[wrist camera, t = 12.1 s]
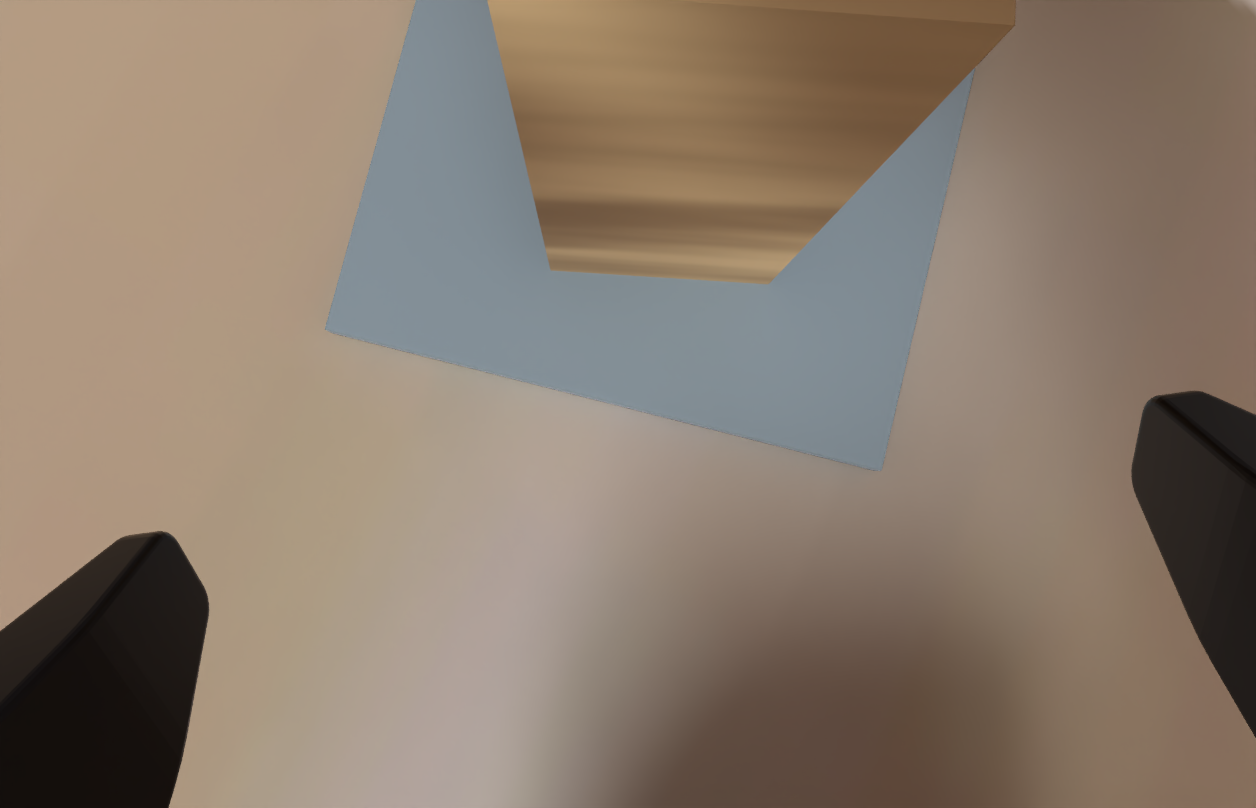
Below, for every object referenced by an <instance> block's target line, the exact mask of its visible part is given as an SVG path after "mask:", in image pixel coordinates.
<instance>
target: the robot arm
mask: <svg viewBox="0 0 1256 808" xmlns="http://www.w3.org/2000/svg"><path fill="white" fill-rule="evenodd" d="M1131 471H1132V484H1133V488H1134V492H1135V494H1136V497H1137V499H1138V502H1139V504H1140V506H1141V508H1142V511H1143V513H1144V515H1145V518H1146V520H1147V522H1148V525H1149V527H1150V529H1151V531H1152V534H1153V536H1154V538H1155V541H1156V543H1157V545H1158V548H1159V550H1160V552H1161V555H1162V557H1163V559H1164V561H1165V564H1166V566H1167V568H1168V571H1169V573H1170V575H1171V578H1172V580H1173V582H1174V585H1175V587H1176V589H1177V591H1178V594H1179V596H1180V598H1181V601H1182V603H1183V605H1184V608H1185V610H1186V612H1187V614H1188V617H1189V619H1190V621H1191V623H1192V625H1193V627H1194V629H1195V631H1196V634H1197V636H1198V638H1199V640H1200V642H1201V644H1202V645H1203V647H1204V649H1205V651H1206V653H1207V654H1208V656H1209V658H1210V660H1211V662H1212V664H1213V665H1214V667H1215V669H1216V671H1217V672H1218V674H1219V676H1220V677H1221V679H1222V681H1223V683H1224V684H1225V686H1226V688H1227V689H1228V691H1229V693H1230V695H1231V696H1232V698H1233V700H1234V702H1235V703H1236V705H1237V707H1238V708H1239V710H1240V712H1241V714H1242V715H1243V717H1244V719H1245V720H1246V722H1247V724H1248V726H1249V727H1250V729H1251V731H1252V732H1253V734H1254V736H1255V738H1256V415H1255V414H1252V413H1250V412H1248V411H1246V410H1243V409H1241V408H1239V407H1237V406H1234V405H1232V404H1230V403H1227V402H1225V401H1223V400H1221V399H1218V398H1216V397H1214V396H1212V395H1209V394H1207V393H1204V392H1201V391H1187V392H1179V393H1172V394H1165V395H1158V396H1155V397H1153V398H1151V399H1150V400H1149V401H1148V402H1147V403H1146V405H1145V407H1144V410H1143V413H1142V418H1141V423H1140V428H1139V433H1138V438H1137V443H1136V448H1135V453H1134V458H1133V463H1132V470H1131ZM208 616H209V602H208V596H207V593H206V590H205V588H204V586H203V584H202V582H201V581H200V579H199V577H198V576H197V574H196V572H195V570H194V569H193V567H192V565H191V564H190V562H189V560H188V559H187V557H186V555H185V553H184V552H183V550H182V548H181V547H180V545H179V543H178V542H177V540H176V539H175V538H174V537H173V536H172V535H171V534H169V533H167V532H163V531H157V532H149V533H142V534H134V535H129V536H125V537H122V538H120V539H118V540H117V541H116V542H114V543H113V544H112V545H110V546H109V547H108V548H107V549H105V550H104V551H103V552H101V553H100V554H99V555H98V556H96V557H95V558H94V559H92V560H91V561H90V562H89V563H87V564H86V565H85V566H83V567H82V568H81V569H80V570H78V571H77V572H76V573H74V574H73V575H72V576H71V577H69V578H68V579H67V580H65V581H64V582H63V583H62V584H60V585H59V586H58V587H56V588H55V589H54V590H53V591H51V592H50V593H49V594H47V595H46V596H45V597H44V598H42V599H41V600H40V601H38V602H37V603H36V604H35V605H33V606H32V607H31V608H29V609H28V610H27V611H26V612H24V613H23V614H22V615H20V616H19V617H18V618H17V619H15V620H14V621H13V622H11V623H10V624H9V625H8V626H6V627H5V628H4V629H2V630H1V631H0V808H169V804H170V801H171V798H172V794H173V791H174V787H175V784H176V780H177V776H178V772H179V769H180V765H181V761H182V757H183V752H184V748H185V743H186V738H187V733H188V727H189V722H190V716H191V711H192V705H193V700H194V694H195V689H196V683H197V678H198V672H199V666H200V661H201V655H202V650H203V644H204V639H205V633H206V628H207V622H208Z"/></svg>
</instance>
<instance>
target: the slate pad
mask: <svg viewBox="0 0 1256 808" xmlns="http://www.w3.org/2000/svg"><path fill="white" fill-rule="evenodd" d="M974 71H975V68H974V69H973V70H972V71H971V72H970V73H969V74H968V75H967V76H966V77H965V78H964V79H963V80H962V81H961V83H960V84H959V85H958V86H957V87H956V88H955V89H954V90H953V91H952V92H951V93H950V94H949V95H948V96H947V97H946V98H945V99H944V100H943V101H942V103H941V104H940V105H939V106H938V107H937V108H936V109H935V110H934V111H933V112H932V113H931V114H930V115H929V116H928V117H927V118H926V119H925V120H924V121H923V122H922V124H921V125H920V126H919V127H918V128H917V129H916V130H915V131H914V132H913V133H912V134H911V135H910V136H909V137H908V138H907V139H906V140H905V141H904V142H903V143H902V145H901V146H900V147H899V148H898V149H897V150H896V151H895V152H894V153H893V154H892V155H891V156H890V157H889V158H888V159H887V160H886V161H885V162H884V163H883V165H882V166H881V167H880V168H879V169H878V170H877V171H876V172H875V173H874V174H873V175H872V176H871V177H870V178H869V179H868V180H867V181H866V182H865V183H864V184H863V186H862V187H861V188H860V189H859V190H858V191H857V192H856V193H855V194H854V195H853V196H852V197H851V198H850V199H849V200H848V201H847V202H846V203H845V204H844V206H843V207H842V208H841V209H840V210H839V211H838V212H837V213H836V214H835V215H834V216H833V217H832V218H831V219H830V220H829V221H828V222H827V223H826V224H825V225H824V227H823V228H822V229H821V230H820V231H819V232H818V233H817V234H816V235H815V236H814V237H813V238H812V239H811V240H810V241H809V242H808V243H807V244H806V245H805V247H804V248H803V249H802V250H801V251H800V252H799V253H798V254H797V255H796V256H795V257H794V258H793V259H792V260H791V261H790V262H789V263H788V264H787V265H786V266H785V268H784V269H783V270H782V271H781V272H780V273H779V274H778V275H777V276H776V277H775V278H774V279H773V280H772V281H771V282H770V283H769V284H755V283H739V282H723V281H708V280H692V279H676V278H660V277H645V276H629V275H613V274H598V273H582V272H566V271H551V270H550V266H549V262H548V257H547V253H546V249H545V245H544V240H543V236H542V232H541V228H540V223H539V219H538V215H537V211H536V206H535V202H534V198H533V194H532V189H531V185H530V181H529V177H528V172H527V168H526V164H525V159H524V155H523V151H522V147H521V142H520V138H519V134H518V130H517V125H516V121H515V117H514V113H513V108H512V104H511V100H510V96H509V91H508V87H507V83H506V79H505V74H504V70H503V66H502V62H501V57H500V53H499V49H498V44H497V40H496V36H495V32H494V27H493V23H492V19H491V15H490V10H489V6H488V2H487V0H416V2H415V6H414V9H413V13H412V17H411V20H410V24H409V27H408V31H407V35H406V38H405V42H404V45H403V49H402V53H401V56H400V60H399V63H398V67H397V71H396V74H395V78H394V81H393V85H392V89H391V92H390V96H389V100H388V103H387V107H386V110H385V114H384V118H383V121H382V125H381V128H380V132H379V136H378V139H377V143H376V146H375V150H374V154H373V157H372V161H371V164H370V168H369V172H368V175H367V179H366V182H365V186H364V190H363V193H362V197H361V201H360V204H359V208H358V211H357V215H356V219H355V222H354V226H353V229H352V233H351V237H350V240H349V244H348V247H347V251H346V255H345V258H344V262H343V265H342V269H341V273H340V276H339V280H338V283H337V287H336V291H335V294H334V298H333V302H332V305H331V309H330V312H329V316H328V320H327V323H326V327H325V330H327V331H329V332H331V333H334V334H338V335H342V336H346V337H350V338H354V339H358V340H362V341H366V342H369V343H373V344H377V345H381V346H385V347H389V348H393V349H397V350H401V351H405V352H409V353H413V354H417V355H421V356H425V357H429V358H432V359H436V360H440V361H444V362H448V363H452V364H456V365H460V366H464V367H468V368H472V369H476V370H480V371H484V372H488V373H492V374H495V375H499V376H503V377H507V378H511V379H515V380H519V381H523V382H527V383H531V384H535V385H539V386H543V387H547V388H551V389H554V390H558V391H562V392H566V393H570V394H574V395H578V396H582V397H586V398H590V399H594V400H598V401H602V402H606V403H610V404H614V405H617V406H621V407H625V408H629V409H633V410H637V411H641V412H645V413H649V414H653V415H657V416H661V417H665V418H669V419H673V420H677V421H680V422H684V423H688V424H692V425H696V426H700V427H704V428H708V429H712V430H716V431H720V432H724V433H728V434H732V435H736V436H740V437H743V438H747V439H751V440H755V441H759V442H763V443H767V444H771V445H775V446H779V447H783V448H787V449H791V450H795V451H799V452H803V453H806V454H810V455H814V456H818V457H822V458H826V459H830V460H834V461H838V462H842V463H846V464H850V465H854V466H858V467H862V468H866V469H869V470H873V471H881V470H882V466H883V462H884V458H885V453H886V449H887V445H888V440H889V436H890V432H891V427H892V423H893V419H894V415H895V410H896V406H897V402H898V397H899V393H900V389H901V384H902V380H903V376H904V372H905V367H906V363H907V359H908V354H909V350H910V346H911V341H912V337H913V333H914V329H915V324H916V320H917V316H918V311H919V307H920V303H921V298H922V294H923V290H924V286H925V281H926V277H927V273H928V268H929V264H930V260H931V255H932V251H933V247H934V243H935V238H936V234H937V230H938V225H939V221H940V217H941V212H942V208H943V204H944V200H945V195H946V191H947V187H948V182H949V178H950V174H951V170H952V165H953V161H954V157H955V152H956V148H957V144H958V139H959V135H960V131H961V127H962V122H963V118H964V114H965V109H966V105H967V101H968V96H969V92H970V88H971V84H972V79H973V75H974Z"/></svg>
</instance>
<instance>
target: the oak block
mask: <svg viewBox="0 0 1256 808" xmlns="http://www.w3.org/2000/svg"><path fill="white" fill-rule="evenodd" d="M487 2H488V6H489V10H490V15H491V19H492V23H493V27H494V32H495V36H496V40H497V44H498V49H499V53H500V57H501V62H502V66H503V70H504V74H505V79H506V83H507V87H508V91H509V96H510V100H511V104H512V108H513V113H514V117H515V121H516V125H517V130H518V134H519V138H520V142H521V147H522V151H523V155H524V159H525V164H526V168H527V172H528V177H529V181H530V185H531V189H532V194H533V198H534V202H535V206H536V211H537V215H538V219H539V223H540V228H541V232H542V236H543V240H544V245H545V249H546V253H547V257H548V262H549V266H550V270H551V271H566V272H582V273H598V274H613V275H629V276H645V277H660V278H676V279H692V280H708V281H723V282H739V283H755V284H769V283H770V282H771V281H772V280H773V279H774V278H775V277H776V276H777V275H778V274H779V273H780V272H781V271H782V270H783V269H784V268H785V266H786V265H787V264H788V263H789V262H790V261H791V260H792V259H793V258H794V257H795V256H796V255H797V254H798V253H799V252H800V251H801V250H802V249H803V248H804V247H805V245H806V244H807V243H808V242H809V241H810V240H811V239H812V238H813V237H814V236H815V235H816V234H817V233H818V232H819V231H820V230H821V229H822V228H823V227H824V225H825V224H826V223H827V222H828V221H829V220H830V219H831V218H832V217H833V216H834V215H835V214H836V213H837V212H838V211H839V210H840V209H841V208H842V207H843V206H844V204H845V203H846V202H847V201H848V200H849V199H850V198H851V197H852V196H853V195H854V194H855V193H856V192H857V191H858V190H859V189H860V188H861V187H862V186H863V184H864V183H865V182H866V181H867V180H868V179H869V178H870V177H871V176H872V175H873V174H874V173H875V172H876V171H877V170H878V169H879V168H880V167H881V166H882V165H883V163H884V162H885V161H886V160H887V159H888V158H889V157H890V156H891V155H892V154H893V153H894V152H895V151H896V150H897V149H898V148H899V147H900V146H901V145H902V143H903V142H904V141H905V140H906V139H907V138H908V137H909V136H910V135H911V134H912V133H913V132H914V131H915V130H916V129H917V128H918V127H919V126H920V125H921V124H922V122H923V121H924V120H925V119H926V118H927V117H928V116H929V115H930V114H931V113H932V112H933V111H934V110H935V109H936V108H937V107H938V106H939V105H940V104H941V103H942V101H943V100H944V99H945V98H946V97H947V96H948V95H949V94H950V93H951V92H952V91H953V90H954V89H955V88H956V87H957V86H958V85H959V84H960V83H961V81H962V80H963V79H964V78H965V77H966V76H967V75H968V74H969V73H970V72H971V71H972V70H973V69H974V68H975V67H976V66H977V65H978V64H979V63H980V62H981V60H982V59H983V58H984V57H985V56H986V55H987V54H988V53H989V52H990V51H991V50H992V49H993V48H994V47H995V46H996V45H997V44H998V43H999V42H1000V40H1001V39H1002V38H1003V37H1004V36H1005V35H1006V34H1007V33H1008V32H1009V31H1010V30H1011V29H1012V28H1013V27H1014V26H1015V8H1016V0H487Z"/></svg>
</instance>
